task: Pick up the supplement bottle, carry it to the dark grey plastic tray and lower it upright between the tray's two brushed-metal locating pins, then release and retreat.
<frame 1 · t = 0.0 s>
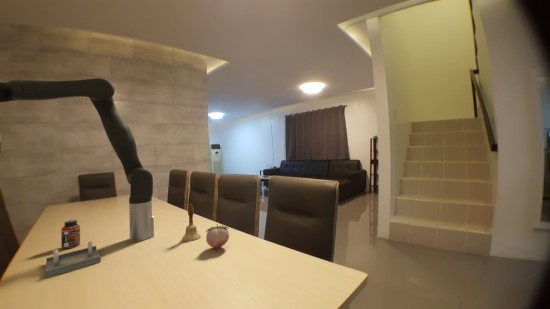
decorative fruit: (217, 248, 88), on the table
pin tray: (73, 262, 78), on the table
hand bell: (191, 238, 100), on the table
supplement bottle: (71, 247, 94), on the table
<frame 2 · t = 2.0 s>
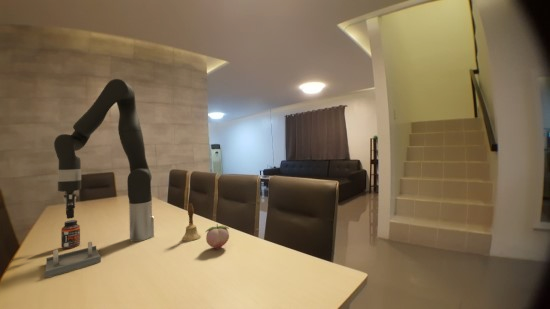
hand: (69, 216, 94), 13 cm above the table, fingers open, 8 cm apart
nothing on the table moved.
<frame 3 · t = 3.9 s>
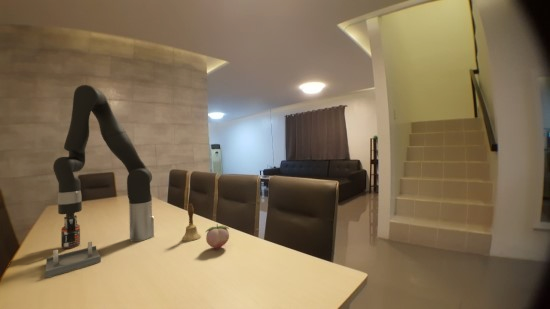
hand: (70, 239, 94), 3 cm above the table, fingers closed on supplement bottle, 6 cm apart
supplement bottle: (71, 247, 94), on the table, touching gripper
everything else where it was.
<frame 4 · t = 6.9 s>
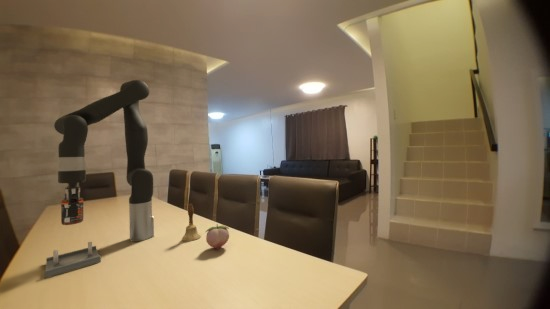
hand: (73, 214, 79), 18 cm above the table, fingers closed on supplement bottle, 6 cm apart
supplement bottle: (72, 223, 79), point 15 cm above the table, touching gripper
everything else where it was.
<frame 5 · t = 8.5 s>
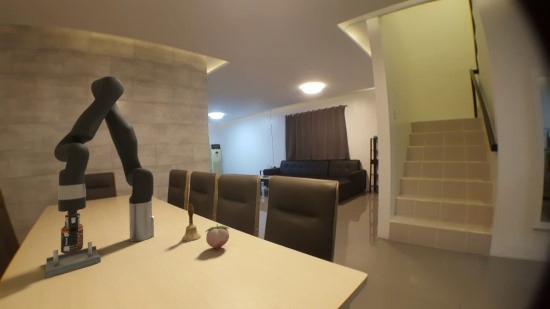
hand: (72, 242, 78), 8 cm above the table, fingers closed on supplement bottle, 6 cm apart
supplement bottle: (72, 251, 78), point 4 cm above the table, touching gripper
everything else where it was.
when the fingers open (6 cm above the table, at t = 9.9 s): supplement bottle stays where it is, resting on pin tray.
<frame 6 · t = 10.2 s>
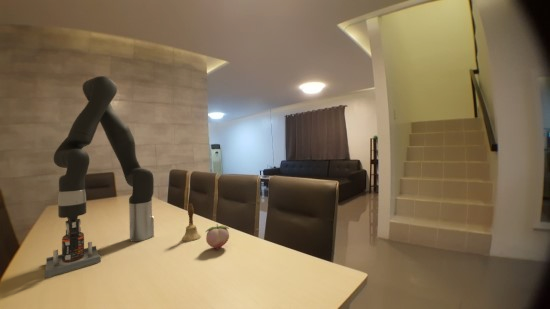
hand: (73, 246, 78), 6 cm above the table, fingers open, 8 cm apart
supplement bottle: (73, 259, 78), point 1 cm above the table, touching pin tray
everything else where it was.
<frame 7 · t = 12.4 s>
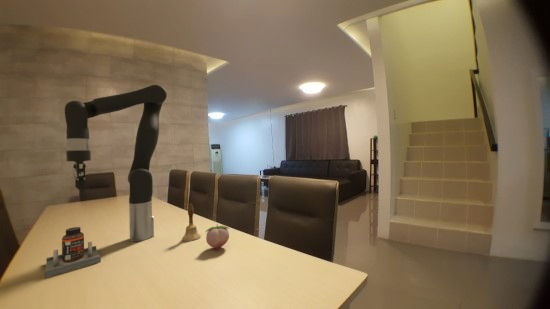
hand: (80, 188, 89), 26 cm above the table, fingers open, 8 cm apart
nothing on the table moved.
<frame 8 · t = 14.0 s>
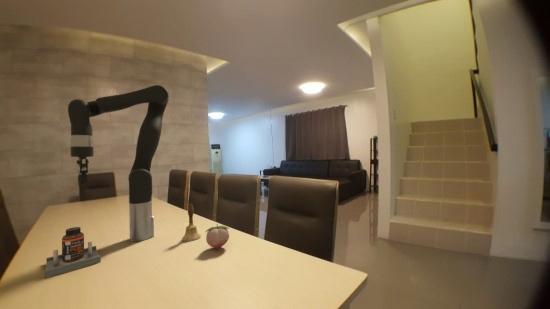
hand: (82, 182, 93), 28 cm above the table, fingers open, 8 cm apart
nothing on the table moved.
at the end: supplement bottle 0.1 cm off-centre on the pin tray, point 1.2 cm above the pin tray's base; supplement bottle tilted 0°; the gripper is holding nothing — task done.
